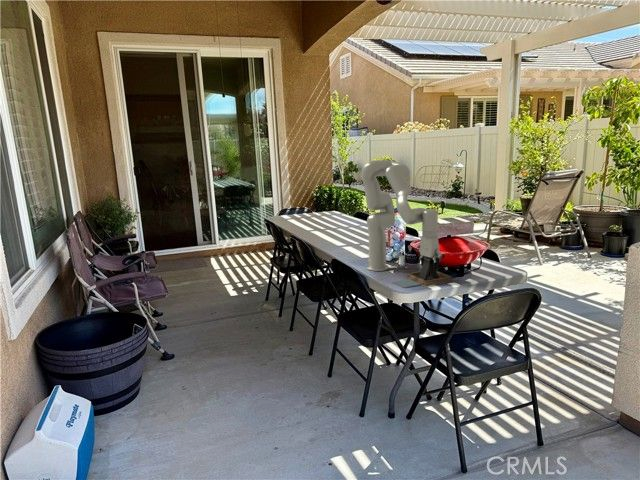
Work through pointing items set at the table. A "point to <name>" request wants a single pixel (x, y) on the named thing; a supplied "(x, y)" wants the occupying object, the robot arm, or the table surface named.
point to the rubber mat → (406, 283)
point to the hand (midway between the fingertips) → (429, 267)
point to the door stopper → (428, 270)
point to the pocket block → (441, 280)
